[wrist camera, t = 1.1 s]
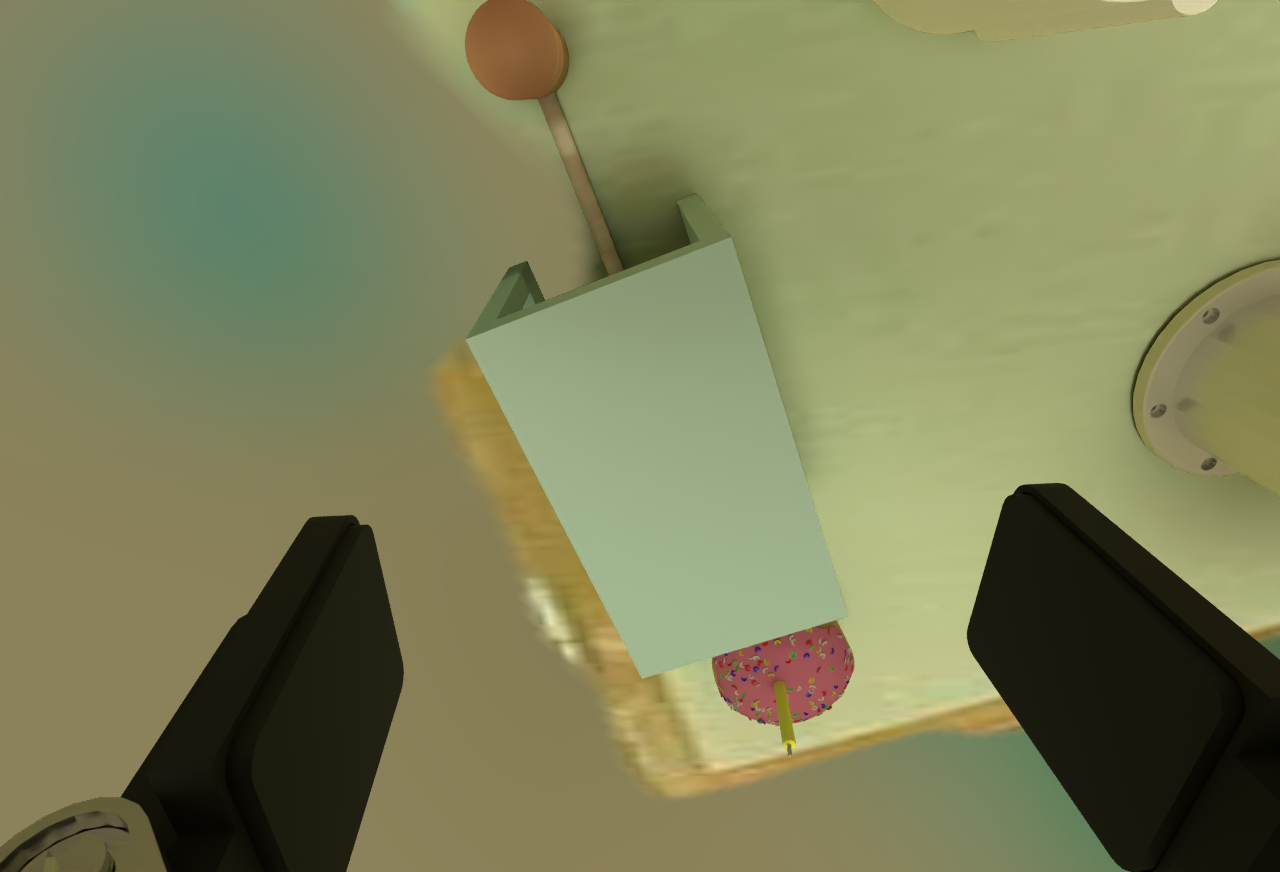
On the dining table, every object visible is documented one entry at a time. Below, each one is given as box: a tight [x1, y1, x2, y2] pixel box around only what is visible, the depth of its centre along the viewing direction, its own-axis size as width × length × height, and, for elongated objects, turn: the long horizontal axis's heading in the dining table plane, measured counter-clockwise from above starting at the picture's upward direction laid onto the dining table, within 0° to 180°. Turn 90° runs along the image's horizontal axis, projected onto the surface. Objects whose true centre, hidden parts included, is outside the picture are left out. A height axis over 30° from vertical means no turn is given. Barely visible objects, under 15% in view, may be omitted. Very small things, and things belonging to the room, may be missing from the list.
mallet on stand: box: [465, 0, 623, 276], centre depth 31 cm, size 6×24×7 cm, turn 21°
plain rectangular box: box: [466, 194, 848, 678], centre depth 32 cm, size 10×18×11 cm, turn 21°
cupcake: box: [712, 620, 854, 758], centre depth 40 cm, size 9×8×12 cm
